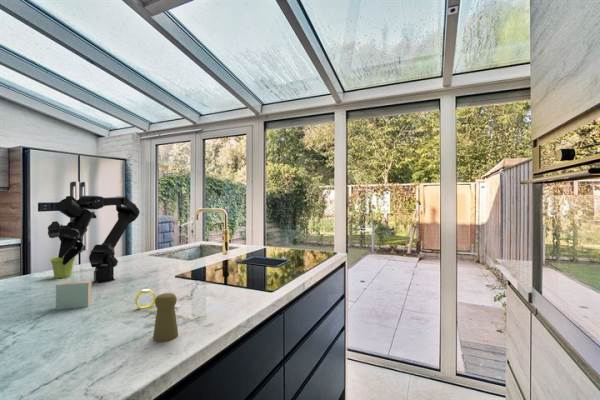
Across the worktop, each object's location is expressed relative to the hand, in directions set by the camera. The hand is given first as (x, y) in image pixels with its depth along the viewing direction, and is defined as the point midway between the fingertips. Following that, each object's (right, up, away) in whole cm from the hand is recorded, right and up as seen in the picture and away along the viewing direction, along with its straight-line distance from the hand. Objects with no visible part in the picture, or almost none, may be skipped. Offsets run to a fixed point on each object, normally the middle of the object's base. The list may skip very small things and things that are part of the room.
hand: (61, 261), depth 113 cm
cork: (+53, -13, -33) cm, 64 cm away
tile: (+13, -13, -11) cm, 21 cm away
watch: (+37, -13, -12) cm, 41 cm away
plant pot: (-21, -13, +28) cm, 37 cm away
